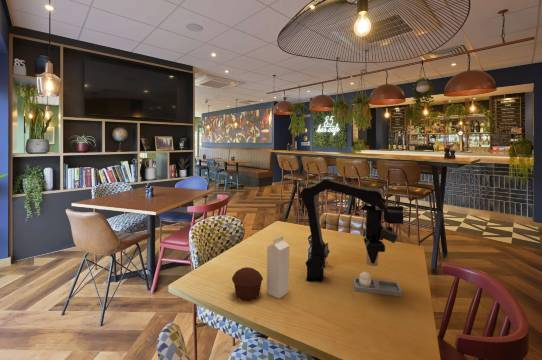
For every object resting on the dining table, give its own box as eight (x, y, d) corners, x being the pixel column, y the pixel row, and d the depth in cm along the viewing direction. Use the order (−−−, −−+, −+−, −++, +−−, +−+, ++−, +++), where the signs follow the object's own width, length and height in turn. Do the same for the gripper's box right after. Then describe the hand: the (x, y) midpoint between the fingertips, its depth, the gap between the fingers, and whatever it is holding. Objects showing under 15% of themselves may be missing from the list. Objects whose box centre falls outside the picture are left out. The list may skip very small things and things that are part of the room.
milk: (288, 292, 112) (290, 237, 109) (278, 299, 107) (280, 242, 104) (276, 287, 116) (277, 234, 113) (266, 293, 111) (267, 238, 108)
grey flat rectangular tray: (354, 291, 113) (354, 287, 113) (353, 281, 121) (353, 277, 120) (401, 297, 109) (402, 292, 109) (397, 286, 117) (397, 282, 117)
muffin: (267, 291, 113) (268, 267, 111) (254, 306, 103) (254, 279, 101) (241, 284, 118) (241, 261, 116) (226, 298, 108) (225, 272, 106)
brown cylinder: (366, 265, 111) (367, 249, 110) (365, 260, 115) (366, 245, 114) (378, 266, 110) (379, 250, 109) (377, 261, 114) (377, 246, 114)
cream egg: (359, 289, 114) (360, 274, 113) (358, 283, 118) (359, 269, 117) (371, 290, 113) (372, 275, 112) (369, 284, 117) (370, 270, 117)
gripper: (401, 230, 100) (399, 273, 102) (391, 216, 118) (390, 253, 120) (367, 228, 102) (366, 270, 104) (363, 215, 120) (362, 251, 122)
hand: (372, 260), depth 113 cm, fingers closed on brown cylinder, 4 cm apart
